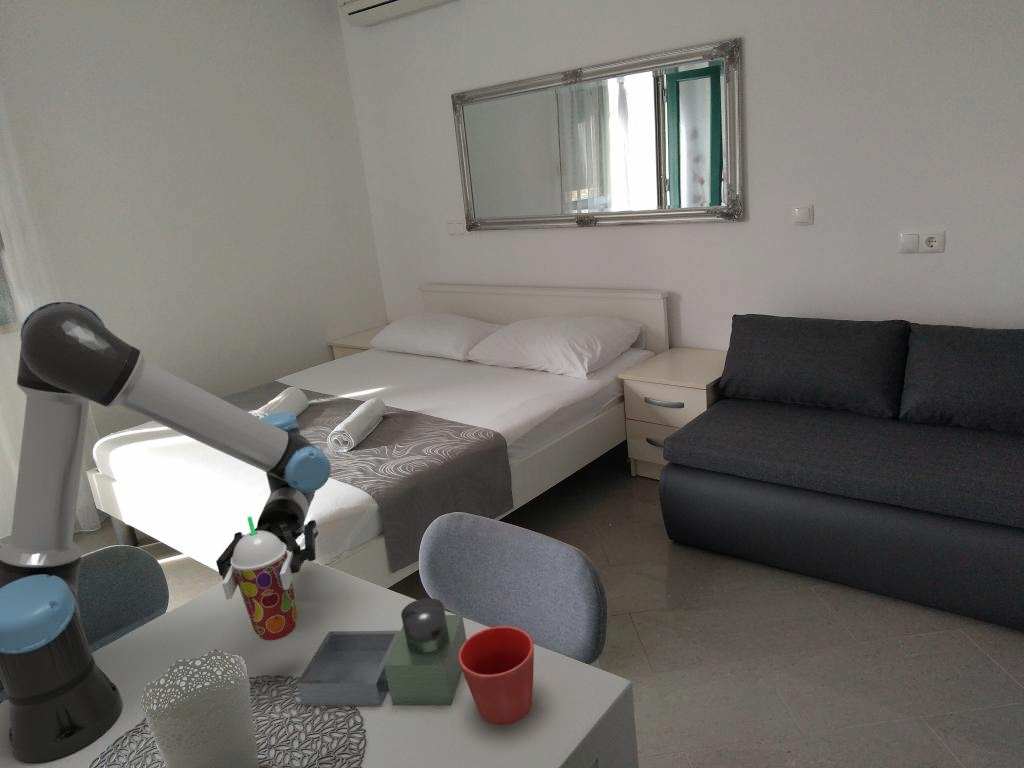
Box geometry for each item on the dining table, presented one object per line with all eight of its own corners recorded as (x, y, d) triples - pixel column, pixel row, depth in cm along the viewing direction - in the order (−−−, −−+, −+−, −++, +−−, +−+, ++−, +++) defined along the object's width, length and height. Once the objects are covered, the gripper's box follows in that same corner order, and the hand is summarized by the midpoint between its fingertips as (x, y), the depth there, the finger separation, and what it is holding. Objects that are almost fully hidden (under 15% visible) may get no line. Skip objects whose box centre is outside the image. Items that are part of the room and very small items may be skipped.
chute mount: (302, 705, 115) (285, 638, 111) (333, 651, 126) (319, 589, 123) (450, 706, 110) (437, 636, 107) (469, 651, 122) (457, 586, 118)
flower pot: (453, 723, 107) (443, 665, 104) (491, 673, 116) (482, 619, 113) (520, 742, 102) (511, 682, 99) (553, 689, 111) (546, 632, 108)
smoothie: (272, 612, 125) (244, 503, 120) (314, 616, 123) (288, 505, 117) (239, 644, 118) (208, 529, 112) (284, 649, 115) (254, 532, 109)
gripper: (345, 526, 136) (330, 596, 114) (229, 545, 135) (191, 620, 113) (337, 488, 134) (320, 552, 112) (219, 507, 132) (178, 576, 111)
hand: (255, 586), depth 112 cm, fingers closed on smoothie, 8 cm apart
